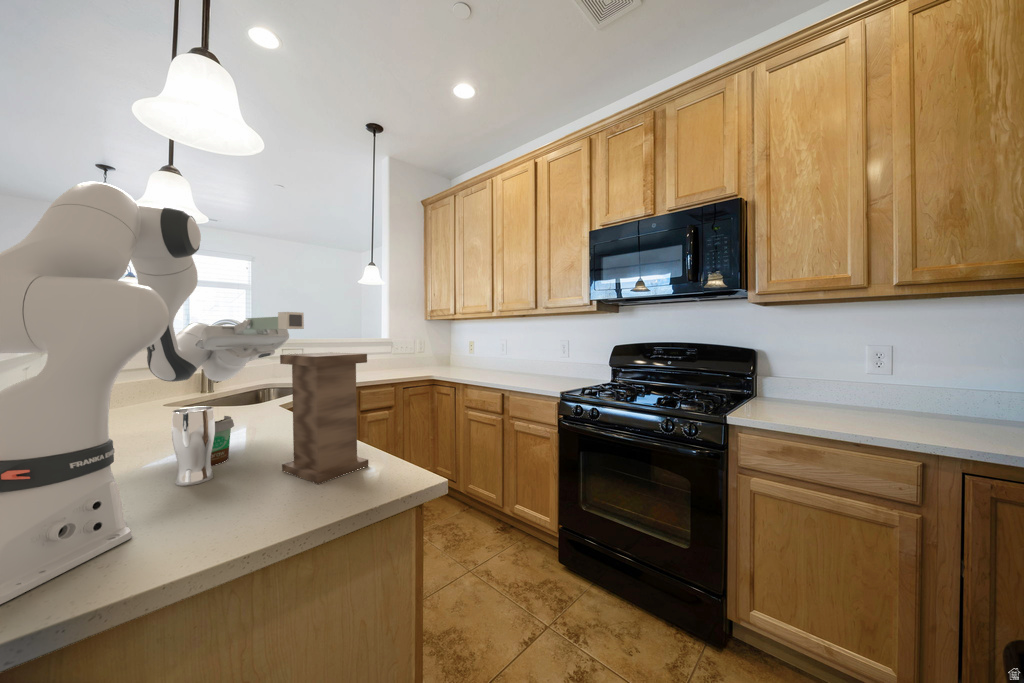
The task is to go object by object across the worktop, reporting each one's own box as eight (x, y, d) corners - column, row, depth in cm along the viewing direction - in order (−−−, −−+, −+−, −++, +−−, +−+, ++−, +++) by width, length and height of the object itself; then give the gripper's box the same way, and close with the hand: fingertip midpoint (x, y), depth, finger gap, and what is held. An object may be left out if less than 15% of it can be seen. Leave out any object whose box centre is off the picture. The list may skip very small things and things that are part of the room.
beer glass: (217, 471, 83) (215, 404, 83) (214, 481, 78) (212, 409, 77) (175, 478, 80) (174, 408, 79) (169, 489, 74) (167, 414, 73)
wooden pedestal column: (282, 471, 84) (280, 354, 83) (332, 456, 94) (331, 352, 93) (317, 484, 76) (315, 356, 76) (368, 466, 86) (367, 353, 86)
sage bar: (243, 329, 101) (243, 314, 101) (260, 329, 104) (259, 315, 104) (287, 328, 89) (287, 311, 89) (304, 328, 92) (304, 312, 92)
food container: (197, 473, 82) (196, 428, 82) (175, 471, 84) (174, 427, 83) (247, 455, 95) (246, 416, 94) (227, 454, 96) (226, 415, 96)
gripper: (190, 337, 99) (208, 310, 92) (273, 337, 116) (293, 313, 110) (195, 358, 97) (214, 332, 91) (278, 355, 115) (299, 332, 108)
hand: (258, 322), depth 100 cm, fingers closed on sage bar, 3 cm apart
